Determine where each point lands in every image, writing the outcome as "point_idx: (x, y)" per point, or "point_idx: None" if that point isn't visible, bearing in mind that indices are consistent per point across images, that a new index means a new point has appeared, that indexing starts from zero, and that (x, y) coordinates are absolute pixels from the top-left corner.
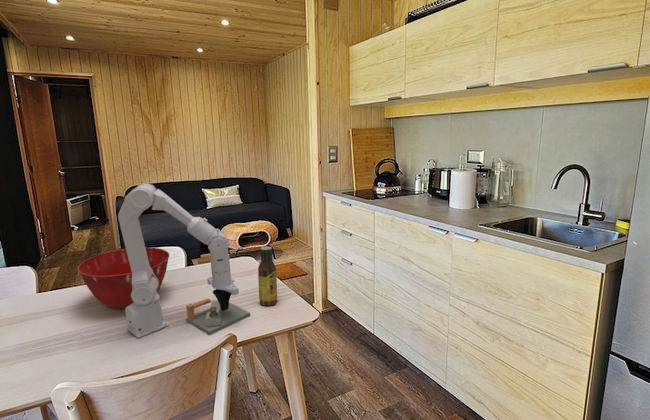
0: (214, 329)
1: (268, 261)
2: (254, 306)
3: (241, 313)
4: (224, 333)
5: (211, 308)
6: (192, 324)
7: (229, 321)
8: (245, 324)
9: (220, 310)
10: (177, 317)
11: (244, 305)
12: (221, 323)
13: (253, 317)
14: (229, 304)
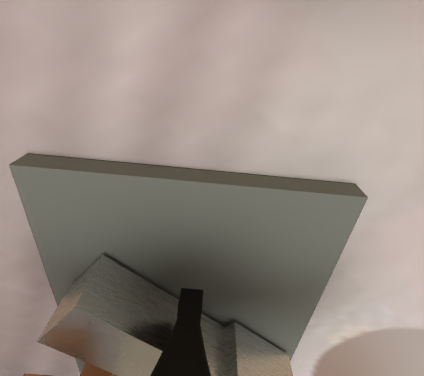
0: None
1: None
2: (285, 29)
3: (304, 236)
4: (327, 345)
5: None
6: None
7: (300, 319)
8: (387, 266)
9: (175, 319)
10: (24, 356)
11: (175, 79)
12: (273, 342)
13: (396, 188)
14: (93, 191)
